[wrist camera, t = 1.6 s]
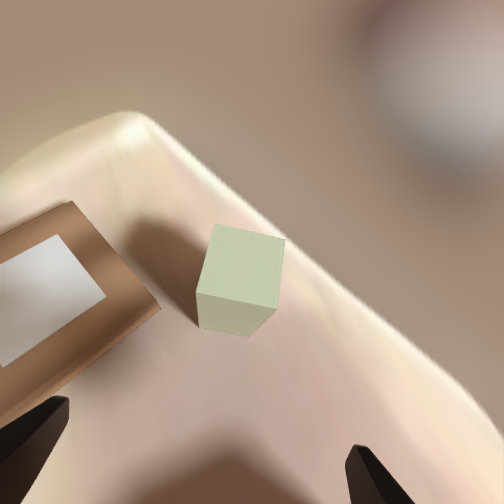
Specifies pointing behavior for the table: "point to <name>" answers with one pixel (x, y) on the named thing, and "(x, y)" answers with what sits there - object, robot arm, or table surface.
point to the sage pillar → (239, 280)
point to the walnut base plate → (60, 305)
